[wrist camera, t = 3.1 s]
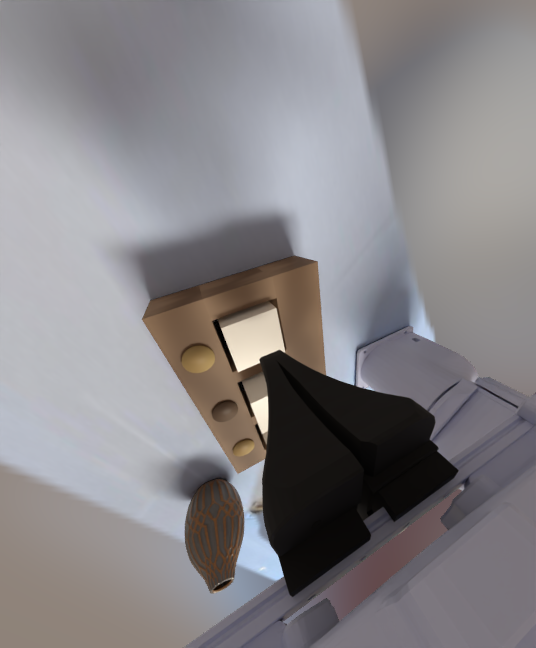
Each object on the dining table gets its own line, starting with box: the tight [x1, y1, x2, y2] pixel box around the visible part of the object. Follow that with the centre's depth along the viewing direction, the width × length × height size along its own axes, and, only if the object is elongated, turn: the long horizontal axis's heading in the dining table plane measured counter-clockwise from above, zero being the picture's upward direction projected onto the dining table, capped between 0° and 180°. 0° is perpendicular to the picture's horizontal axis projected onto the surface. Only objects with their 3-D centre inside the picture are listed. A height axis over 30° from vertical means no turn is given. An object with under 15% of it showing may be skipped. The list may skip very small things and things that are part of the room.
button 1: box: [218, 301, 285, 372], centre depth 16 cm, size 4×4×4 cm
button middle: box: [242, 372, 268, 434], centre depth 18 cm, size 4×4×4 cm
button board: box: [142, 256, 326, 473], centre depth 19 cm, size 12×20×4 cm, turn 13°
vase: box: [185, 479, 244, 594], centre depth 23 cm, size 7×7×9 cm
